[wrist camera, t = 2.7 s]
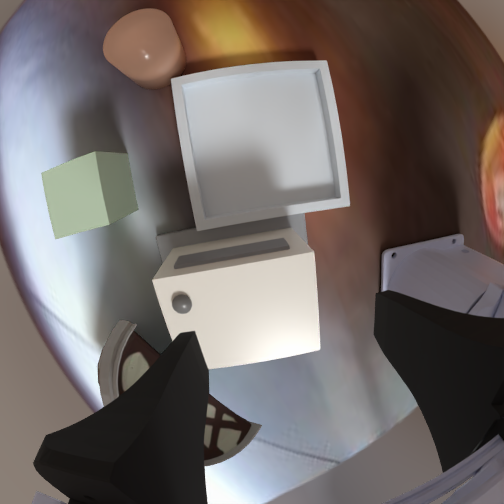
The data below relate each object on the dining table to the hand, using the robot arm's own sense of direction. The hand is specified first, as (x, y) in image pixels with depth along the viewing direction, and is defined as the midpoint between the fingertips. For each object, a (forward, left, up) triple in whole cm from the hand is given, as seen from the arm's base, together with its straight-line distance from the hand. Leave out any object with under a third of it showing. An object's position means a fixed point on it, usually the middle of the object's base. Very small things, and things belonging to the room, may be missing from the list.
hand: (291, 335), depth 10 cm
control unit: (+2, +1, -10) cm, 10 cm away
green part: (+10, -7, -10) cm, 16 cm away
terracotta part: (+5, -15, -10) cm, 18 cm away
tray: (-1, -8, -10) cm, 12 cm away
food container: (+14, +10, -7) cm, 19 cm away
